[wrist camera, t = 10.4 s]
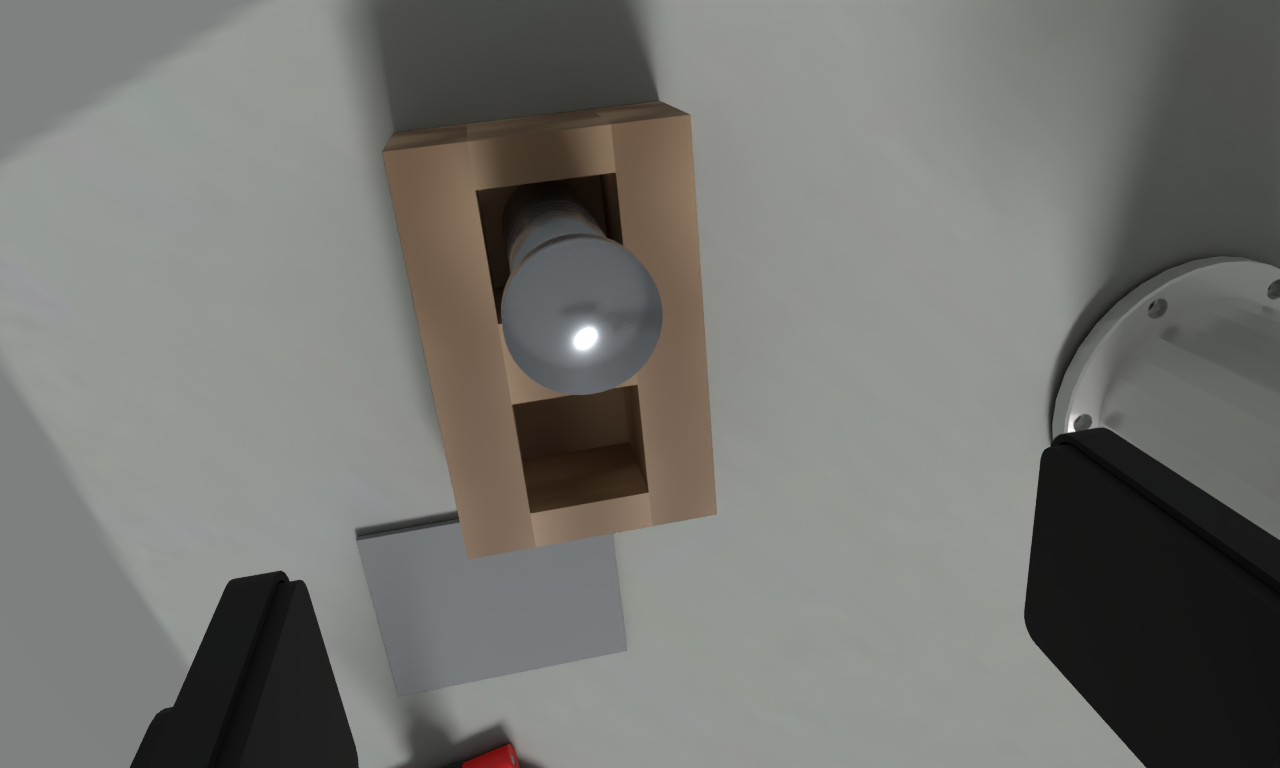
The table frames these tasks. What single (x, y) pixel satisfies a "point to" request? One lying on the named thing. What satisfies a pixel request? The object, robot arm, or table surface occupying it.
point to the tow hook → (492, 759)
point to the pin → (573, 295)
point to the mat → (488, 605)
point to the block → (475, 345)
